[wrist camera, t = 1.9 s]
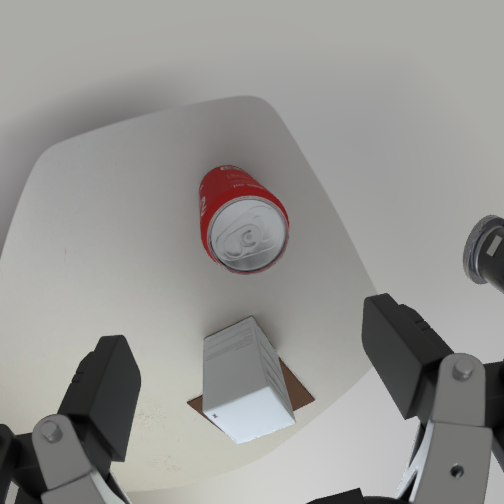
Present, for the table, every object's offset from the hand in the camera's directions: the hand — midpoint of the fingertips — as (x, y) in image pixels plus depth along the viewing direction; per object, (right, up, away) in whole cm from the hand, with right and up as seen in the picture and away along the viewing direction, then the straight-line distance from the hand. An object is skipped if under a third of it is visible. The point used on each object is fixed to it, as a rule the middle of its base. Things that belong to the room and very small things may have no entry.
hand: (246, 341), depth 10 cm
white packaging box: (-1, -9, +30) cm, 32 cm away
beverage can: (-2, +9, +23) cm, 25 cm away
